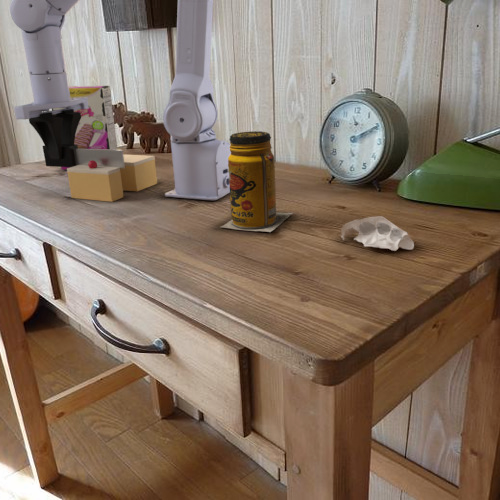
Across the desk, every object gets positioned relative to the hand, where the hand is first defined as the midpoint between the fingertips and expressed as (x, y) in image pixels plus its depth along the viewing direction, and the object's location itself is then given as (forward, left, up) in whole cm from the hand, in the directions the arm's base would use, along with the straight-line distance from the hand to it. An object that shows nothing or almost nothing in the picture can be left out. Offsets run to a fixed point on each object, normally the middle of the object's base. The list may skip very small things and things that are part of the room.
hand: (62, 157), depth 92 cm
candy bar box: (+10, -18, -6) cm, 21 cm away
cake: (-8, -7, -6) cm, 12 cm away
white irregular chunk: (-56, +9, -6) cm, 57 cm away
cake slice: (-8, +2, -6) cm, 10 cm away
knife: (-5, 0, -1) cm, 5 cm away
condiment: (-39, +5, -6) cm, 40 cm away
